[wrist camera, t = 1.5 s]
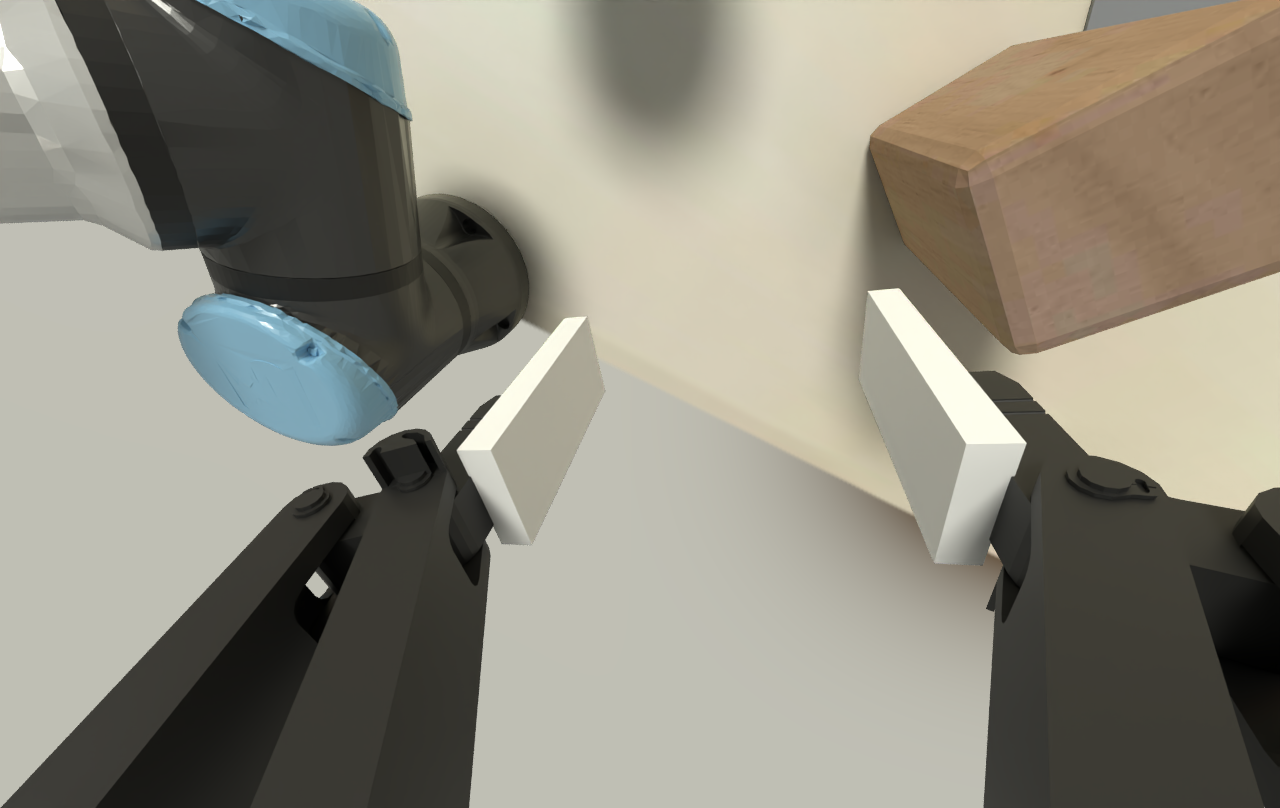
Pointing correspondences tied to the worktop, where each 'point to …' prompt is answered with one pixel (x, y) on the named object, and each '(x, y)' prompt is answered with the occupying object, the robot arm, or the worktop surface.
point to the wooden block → (1097, 173)
